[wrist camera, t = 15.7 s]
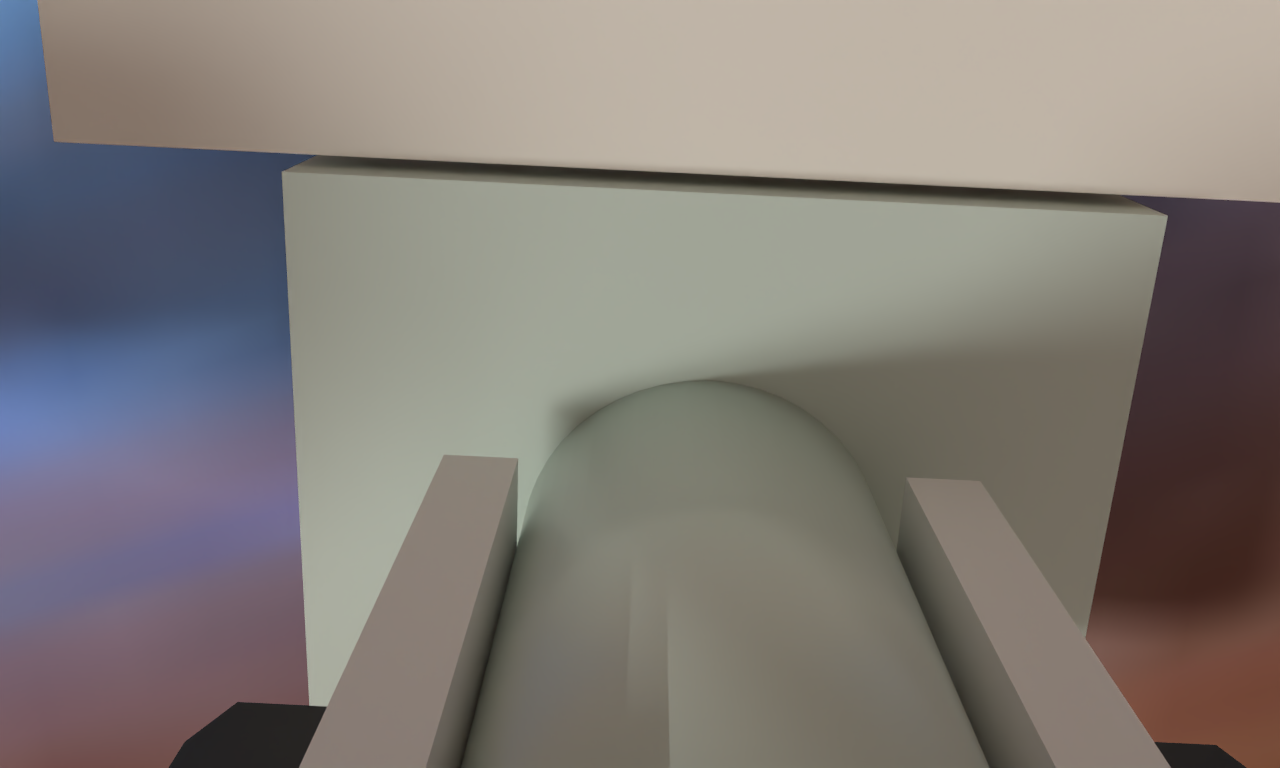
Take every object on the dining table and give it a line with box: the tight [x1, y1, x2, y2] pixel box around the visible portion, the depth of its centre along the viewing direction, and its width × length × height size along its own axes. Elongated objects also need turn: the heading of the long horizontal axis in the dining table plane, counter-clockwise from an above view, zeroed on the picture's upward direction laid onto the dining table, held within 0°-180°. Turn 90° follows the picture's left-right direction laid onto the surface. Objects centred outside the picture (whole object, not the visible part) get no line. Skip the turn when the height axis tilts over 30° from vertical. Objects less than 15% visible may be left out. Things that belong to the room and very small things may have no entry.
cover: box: [282, 155, 1168, 768], centre depth 10 cm, size 8×9×10 cm
